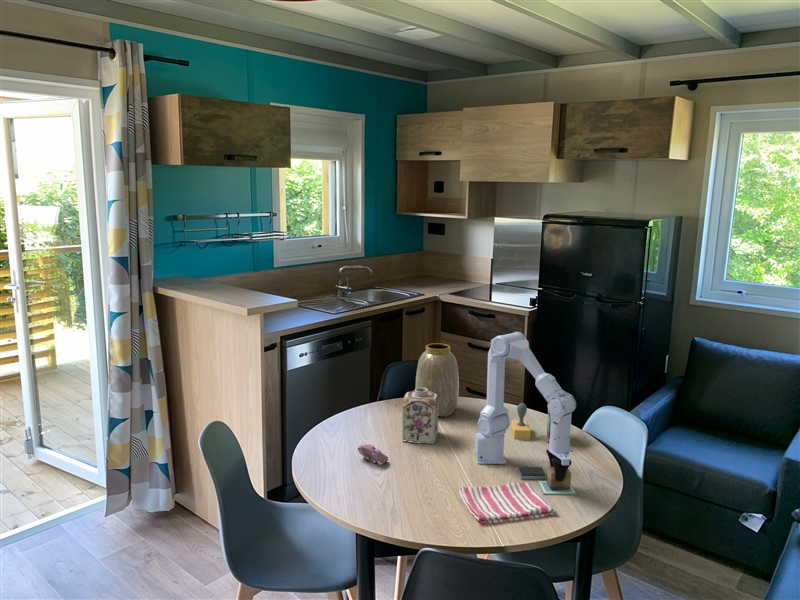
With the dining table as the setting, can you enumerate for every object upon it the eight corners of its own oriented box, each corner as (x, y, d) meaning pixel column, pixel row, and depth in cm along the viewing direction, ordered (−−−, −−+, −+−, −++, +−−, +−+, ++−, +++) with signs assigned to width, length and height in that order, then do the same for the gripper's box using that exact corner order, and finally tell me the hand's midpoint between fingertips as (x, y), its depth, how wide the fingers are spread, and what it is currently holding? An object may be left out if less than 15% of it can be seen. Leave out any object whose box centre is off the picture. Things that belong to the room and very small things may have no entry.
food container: (565, 446, 214) (567, 419, 213) (547, 444, 216) (549, 417, 214) (563, 432, 226) (565, 407, 225) (546, 431, 228) (548, 405, 226)
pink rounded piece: (360, 461, 204) (353, 446, 201) (369, 451, 207) (362, 437, 203) (381, 470, 198) (374, 455, 194) (390, 460, 200) (383, 445, 197)
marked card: (543, 494, 180) (543, 493, 180) (536, 481, 188) (536, 480, 188) (577, 494, 181) (577, 493, 180) (569, 481, 188) (569, 480, 188)
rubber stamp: (530, 440, 220) (532, 408, 217) (514, 439, 220) (515, 407, 218) (526, 429, 229) (528, 398, 227) (511, 428, 230) (512, 398, 228)
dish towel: (457, 496, 180) (457, 485, 179) (530, 488, 185) (530, 477, 185) (478, 527, 163) (478, 515, 163) (557, 517, 169) (558, 505, 168)
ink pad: (521, 479, 190) (521, 475, 189) (517, 470, 195) (517, 466, 195) (546, 479, 190) (547, 475, 189) (542, 470, 196) (542, 466, 195)
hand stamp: (550, 488, 182) (551, 467, 181) (546, 482, 186) (548, 462, 185) (570, 489, 182) (571, 468, 181) (566, 482, 186) (567, 462, 185)
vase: (466, 411, 247) (468, 346, 242) (439, 422, 235) (440, 354, 230) (434, 400, 258) (435, 338, 254) (406, 411, 246) (407, 346, 241)
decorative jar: (438, 432, 225) (439, 385, 222) (434, 445, 214) (435, 395, 211) (406, 429, 227) (407, 383, 224) (401, 442, 216) (401, 393, 213)
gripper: (581, 444, 174) (577, 489, 177) (566, 425, 189) (563, 466, 191) (556, 444, 174) (553, 489, 177) (543, 425, 188) (541, 466, 191)
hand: (557, 477), depth 184 cm, fingers closed on hand stamp, 4 cm apart
